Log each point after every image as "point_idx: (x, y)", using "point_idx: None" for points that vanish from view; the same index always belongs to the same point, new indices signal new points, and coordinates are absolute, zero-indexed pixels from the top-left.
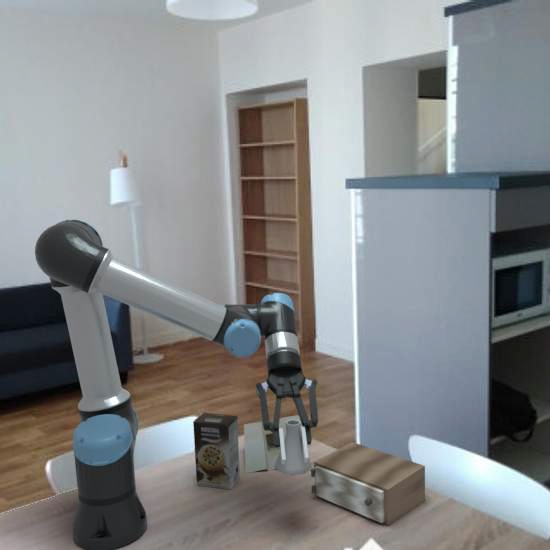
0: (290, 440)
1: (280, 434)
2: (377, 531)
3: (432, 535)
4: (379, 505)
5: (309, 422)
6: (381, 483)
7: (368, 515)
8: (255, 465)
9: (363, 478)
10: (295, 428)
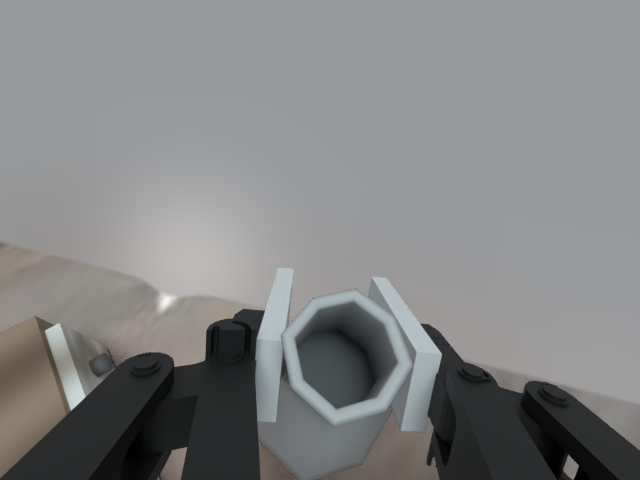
0: (351, 335)
1: (419, 329)
2: (133, 330)
3: (33, 287)
4: (85, 340)
5: (210, 346)
6: (20, 360)
7: None
8: None
9: (49, 416)
10: (331, 313)
